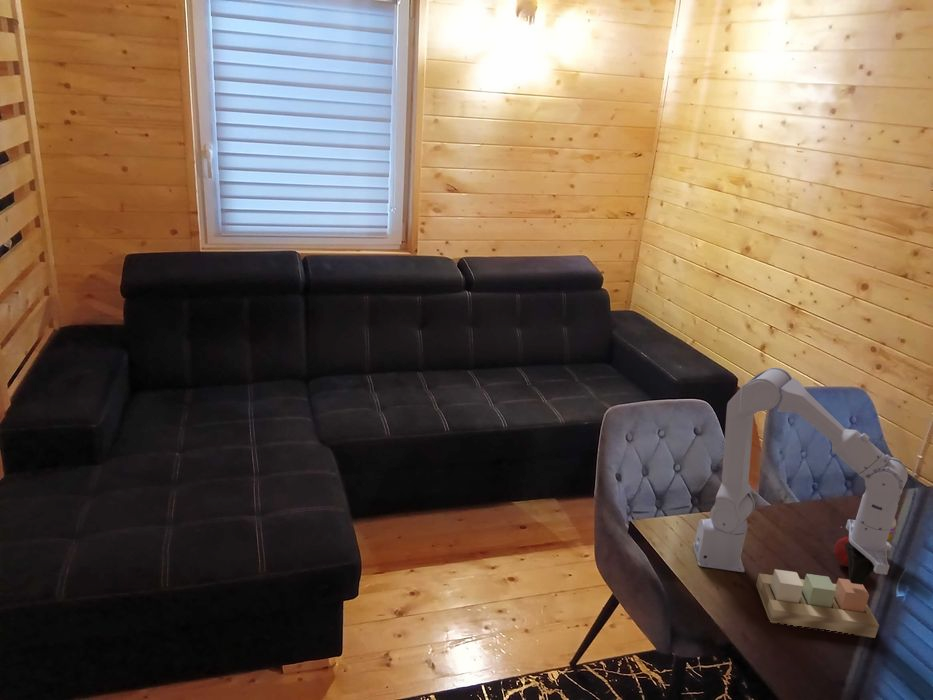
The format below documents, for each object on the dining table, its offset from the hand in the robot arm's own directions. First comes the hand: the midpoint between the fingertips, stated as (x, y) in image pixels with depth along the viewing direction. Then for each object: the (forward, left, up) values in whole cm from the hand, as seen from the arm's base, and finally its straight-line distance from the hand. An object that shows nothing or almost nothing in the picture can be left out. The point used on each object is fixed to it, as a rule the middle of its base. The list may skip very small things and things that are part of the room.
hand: (855, 581), depth 133 cm
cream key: (-12, 0, -5) cm, 13 cm away
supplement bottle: (+13, +23, -8) cm, 28 cm away
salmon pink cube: (0, 0, -5) cm, 5 cm away
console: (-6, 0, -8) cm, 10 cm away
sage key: (-6, 0, -5) cm, 8 cm away
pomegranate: (+6, +17, -8) cm, 20 cm away
